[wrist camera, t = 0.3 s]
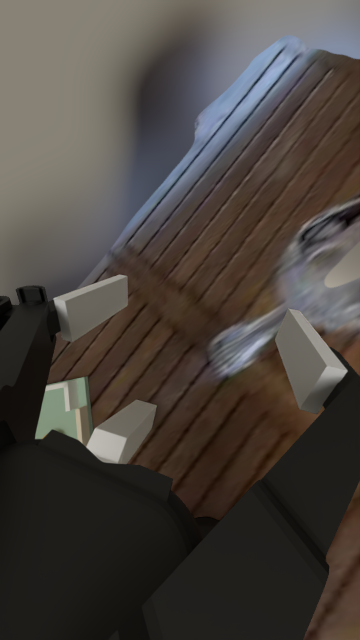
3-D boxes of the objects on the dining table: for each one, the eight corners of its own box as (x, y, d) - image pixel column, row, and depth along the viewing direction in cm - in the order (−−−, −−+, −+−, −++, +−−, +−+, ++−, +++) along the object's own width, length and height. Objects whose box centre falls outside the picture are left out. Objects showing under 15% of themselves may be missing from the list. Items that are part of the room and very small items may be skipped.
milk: (136, 399, 50) (82, 434, 28) (157, 405, 49) (118, 447, 27) (130, 422, 49) (71, 477, 27) (152, 429, 48) (107, 492, 26)
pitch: (97, 473, 48) (84, 488, 43) (36, 482, 50) (16, 498, 44) (87, 376, 53) (74, 379, 47) (32, 387, 54) (14, 391, 49)
